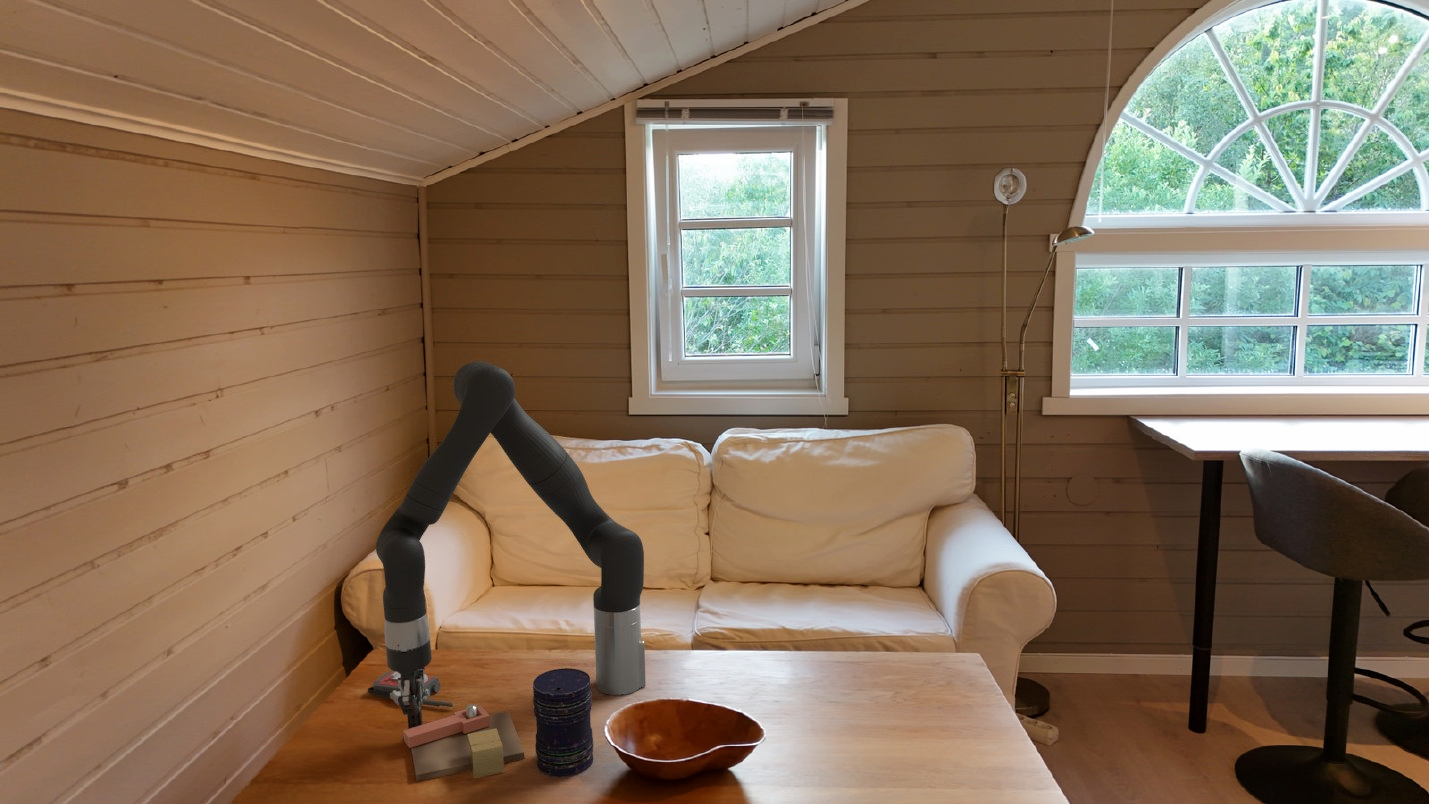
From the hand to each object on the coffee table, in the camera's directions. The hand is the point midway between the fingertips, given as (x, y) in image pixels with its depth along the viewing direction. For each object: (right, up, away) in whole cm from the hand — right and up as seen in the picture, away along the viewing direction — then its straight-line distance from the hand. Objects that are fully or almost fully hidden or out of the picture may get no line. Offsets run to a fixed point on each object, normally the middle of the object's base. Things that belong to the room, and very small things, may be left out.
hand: (415, 728), depth 171 cm
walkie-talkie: (-5, 0, +17) cm, 18 cm away
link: (+6, -1, 0) cm, 6 cm away
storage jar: (+28, -3, -7) cm, 29 cm away
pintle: (+10, -2, +3) cm, 10 cm away
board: (+10, -3, -2) cm, 10 cm away
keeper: (+15, -4, -8) cm, 17 cm away
